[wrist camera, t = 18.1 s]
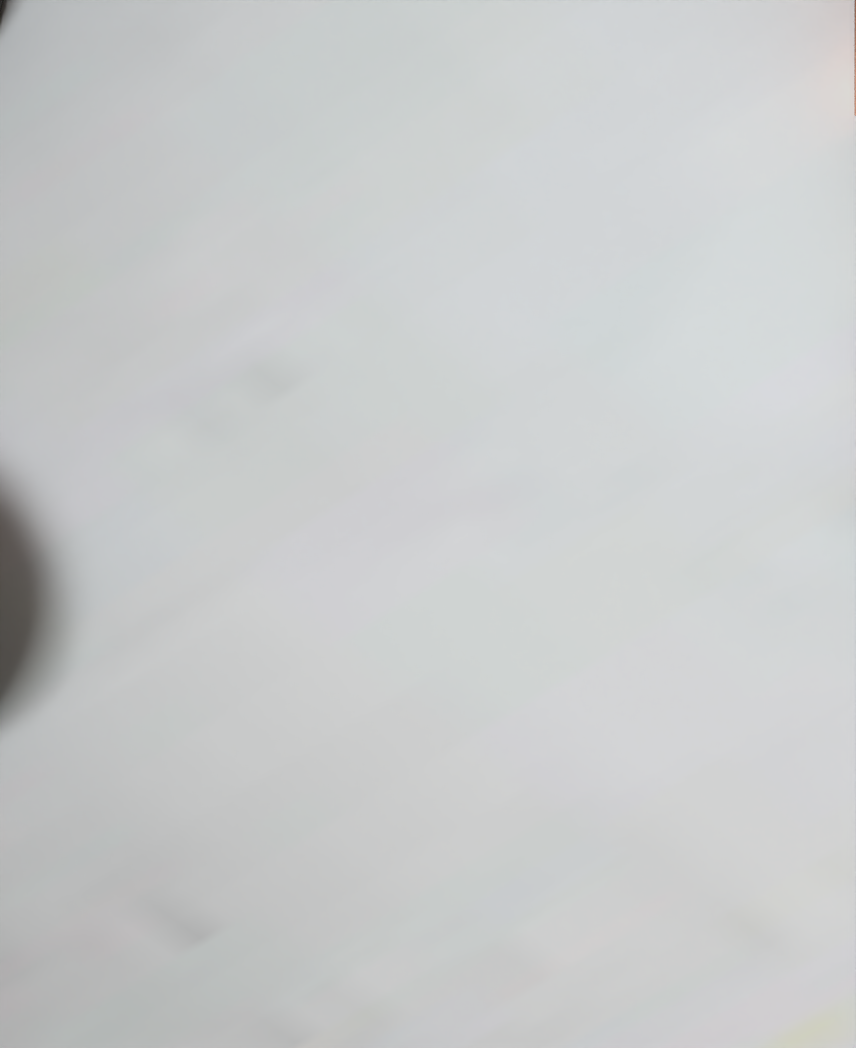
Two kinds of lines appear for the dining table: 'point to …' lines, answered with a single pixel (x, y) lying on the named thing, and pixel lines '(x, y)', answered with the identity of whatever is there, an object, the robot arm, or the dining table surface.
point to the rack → (855, 57)
